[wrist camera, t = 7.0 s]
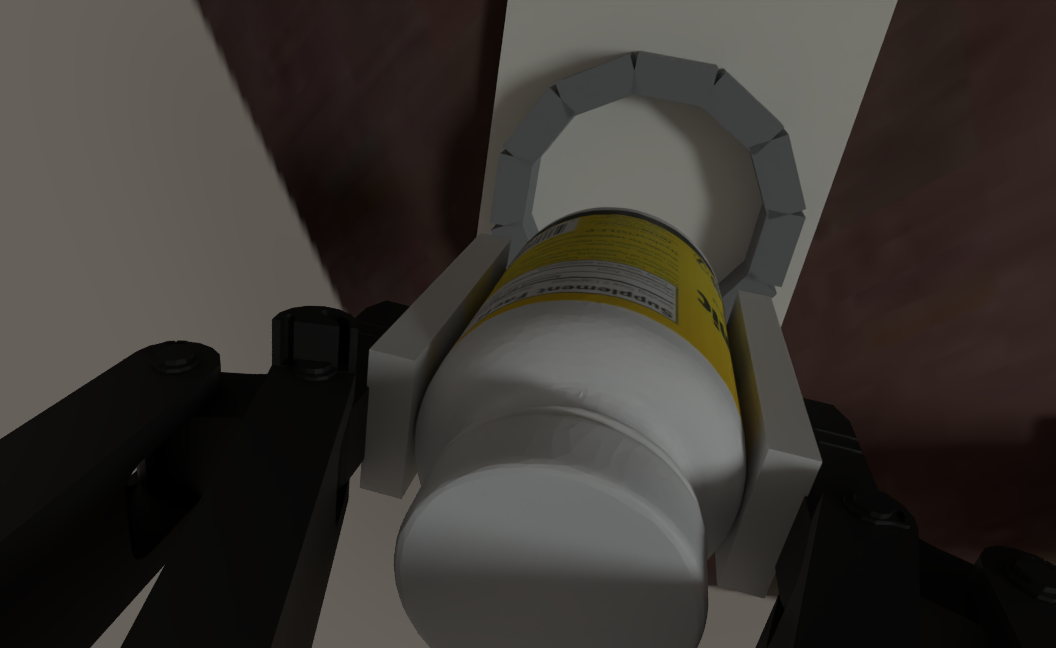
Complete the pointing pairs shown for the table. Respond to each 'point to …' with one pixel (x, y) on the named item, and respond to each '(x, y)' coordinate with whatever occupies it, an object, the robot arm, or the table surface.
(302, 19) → the table surface
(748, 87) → the socket board
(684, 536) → the supplement bottle
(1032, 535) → the table surface
